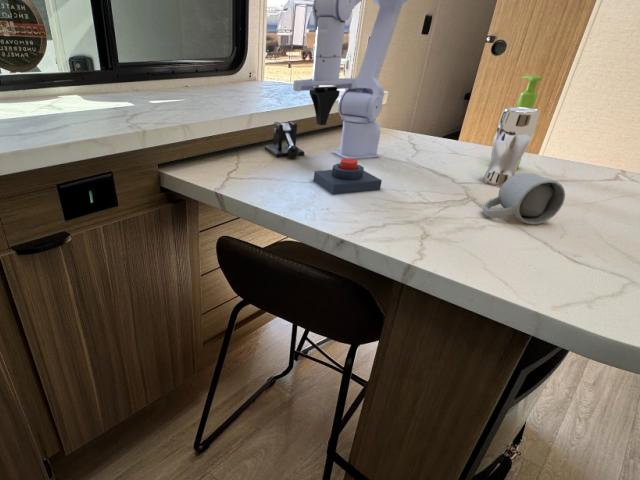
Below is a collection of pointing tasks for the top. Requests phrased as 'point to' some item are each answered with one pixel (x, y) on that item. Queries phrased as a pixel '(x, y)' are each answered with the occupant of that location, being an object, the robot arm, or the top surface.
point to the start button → (348, 164)
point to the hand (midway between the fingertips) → (321, 124)
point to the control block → (346, 180)
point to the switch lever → (289, 141)
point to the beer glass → (510, 142)
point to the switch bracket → (278, 147)
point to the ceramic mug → (527, 199)
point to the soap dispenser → (529, 94)
